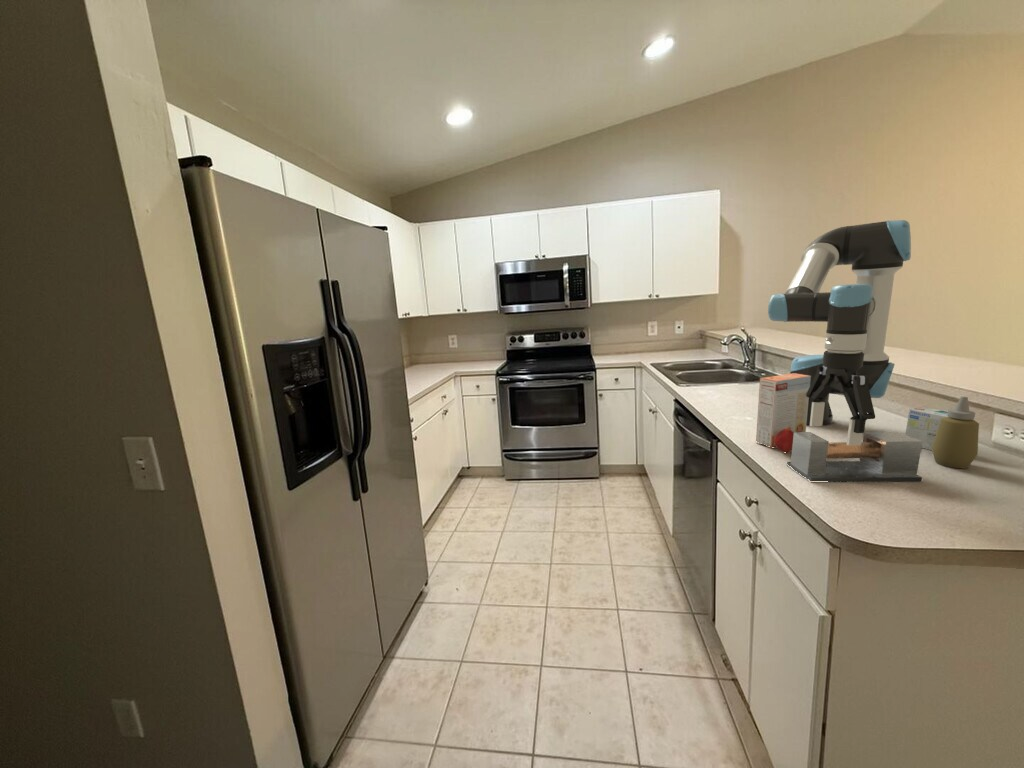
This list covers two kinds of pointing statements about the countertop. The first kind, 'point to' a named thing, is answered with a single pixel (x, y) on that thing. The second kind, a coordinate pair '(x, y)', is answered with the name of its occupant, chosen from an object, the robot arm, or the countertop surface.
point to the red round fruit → (784, 440)
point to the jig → (892, 465)
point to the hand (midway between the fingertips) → (833, 434)
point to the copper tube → (853, 450)
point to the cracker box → (782, 406)
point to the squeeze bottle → (957, 437)
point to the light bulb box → (924, 424)
